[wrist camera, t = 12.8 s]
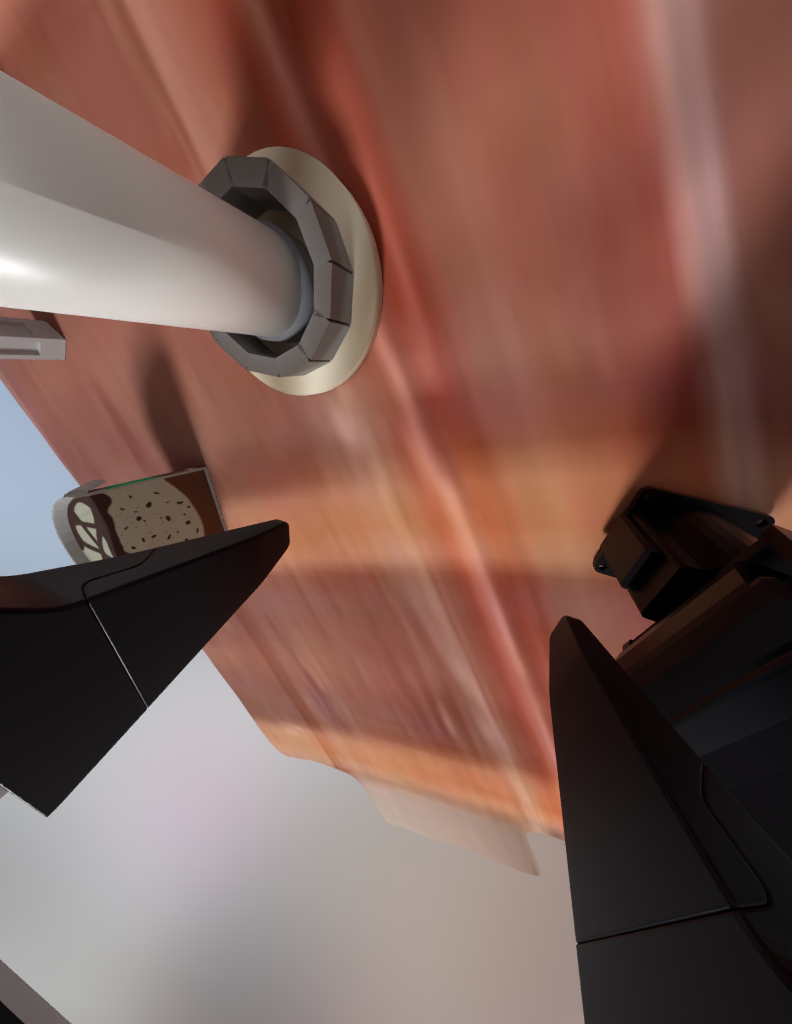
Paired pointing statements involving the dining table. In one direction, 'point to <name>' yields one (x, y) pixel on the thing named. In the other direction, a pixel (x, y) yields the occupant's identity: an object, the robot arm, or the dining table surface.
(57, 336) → the stool
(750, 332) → the dining table surface
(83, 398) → the dining table surface
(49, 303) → the white smooth rounded part
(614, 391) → the dining table surface
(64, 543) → the food container
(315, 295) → the socket
